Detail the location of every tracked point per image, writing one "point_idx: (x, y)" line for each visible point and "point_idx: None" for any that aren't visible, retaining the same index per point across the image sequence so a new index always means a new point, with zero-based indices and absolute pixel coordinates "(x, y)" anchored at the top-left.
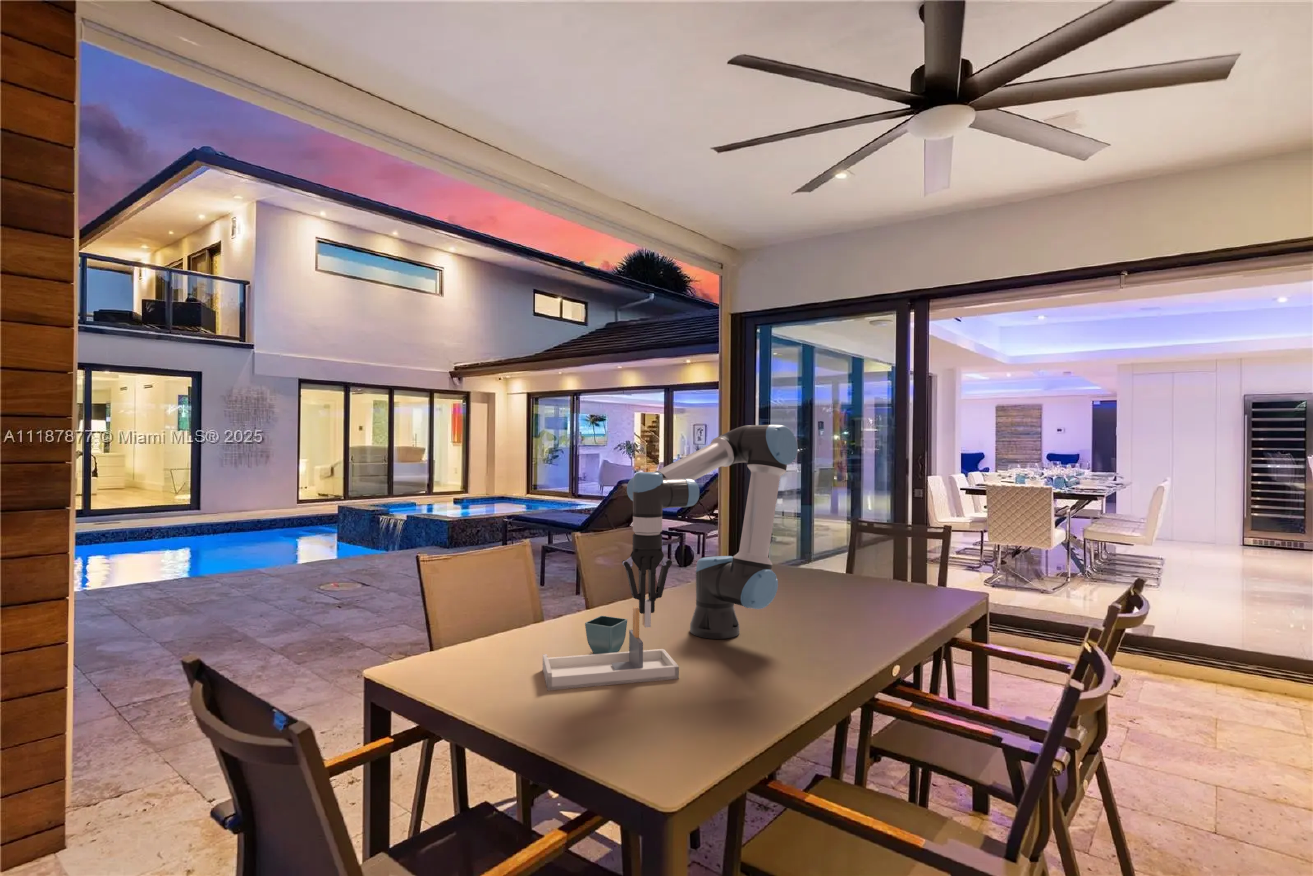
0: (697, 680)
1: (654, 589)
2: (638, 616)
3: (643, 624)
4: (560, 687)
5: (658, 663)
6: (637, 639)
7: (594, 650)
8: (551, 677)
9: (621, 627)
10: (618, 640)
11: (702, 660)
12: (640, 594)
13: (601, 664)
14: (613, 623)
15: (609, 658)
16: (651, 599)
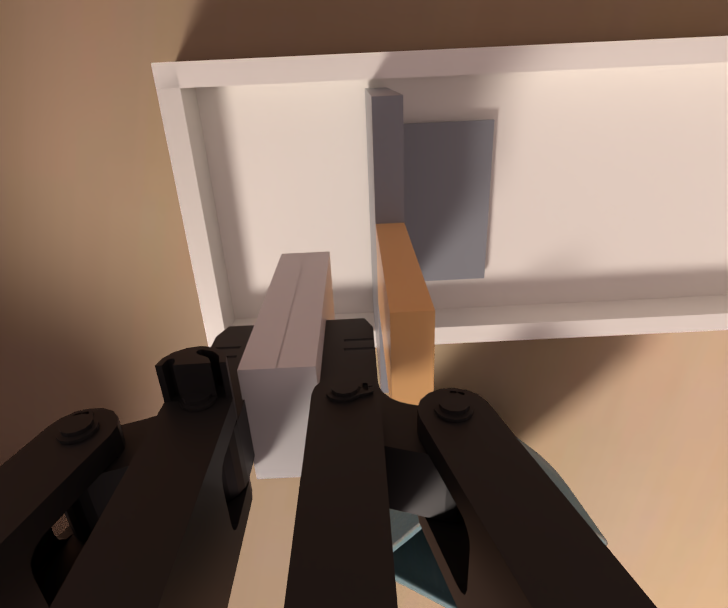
0: (73, 17)
1: (123, 502)
2: (394, 281)
3: (333, 306)
4: None
5: (256, 259)
6: (397, 180)
7: None
8: None
9: None
10: None
11: (38, 297)
12: (384, 445)
13: (522, 291)
14: (433, 568)
15: (486, 316)
16: (224, 360)
